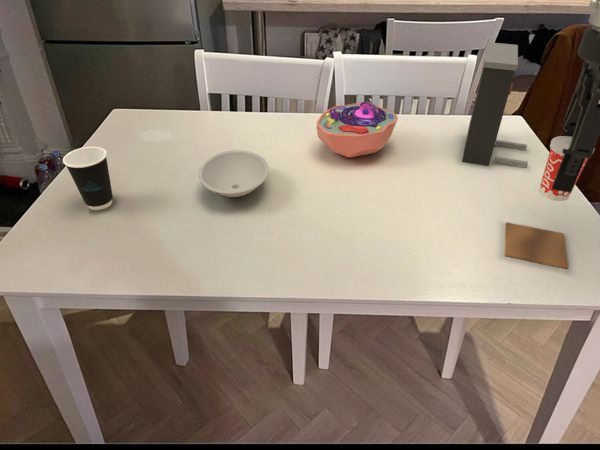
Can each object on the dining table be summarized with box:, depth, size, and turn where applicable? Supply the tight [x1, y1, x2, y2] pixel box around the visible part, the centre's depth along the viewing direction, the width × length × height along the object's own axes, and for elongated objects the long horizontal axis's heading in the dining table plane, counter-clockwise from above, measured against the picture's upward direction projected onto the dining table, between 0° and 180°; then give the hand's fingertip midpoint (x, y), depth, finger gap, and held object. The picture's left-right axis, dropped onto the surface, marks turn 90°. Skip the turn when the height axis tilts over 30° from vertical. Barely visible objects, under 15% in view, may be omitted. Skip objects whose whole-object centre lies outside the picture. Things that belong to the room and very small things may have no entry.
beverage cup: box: [538, 135, 596, 202], centre depth 73 cm, size 6×6×14 cm
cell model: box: [316, 101, 399, 158], centre depth 109 cm, size 17×20×11 cm
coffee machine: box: [461, 42, 529, 169], centre depth 104 cm, size 14×14×23 cm
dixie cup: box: [62, 146, 114, 211], centre depth 92 cm, size 8×8×11 cm
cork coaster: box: [504, 221, 569, 270], centre depth 83 cm, size 10×10×1 cm
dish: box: [198, 149, 270, 198], centre depth 97 cm, size 18×14×5 cm
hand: (559, 178), depth 75 cm, fingers closed on beverage cup, 6 cm apart
